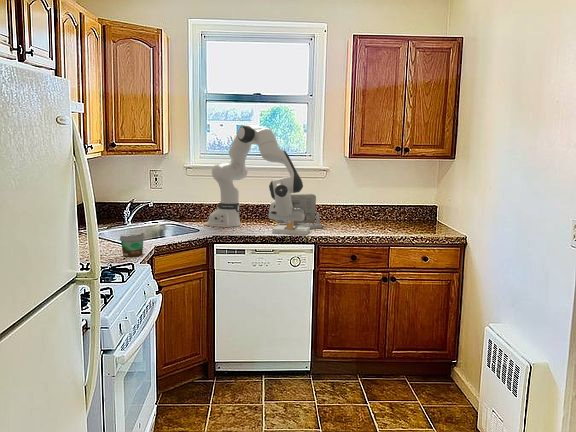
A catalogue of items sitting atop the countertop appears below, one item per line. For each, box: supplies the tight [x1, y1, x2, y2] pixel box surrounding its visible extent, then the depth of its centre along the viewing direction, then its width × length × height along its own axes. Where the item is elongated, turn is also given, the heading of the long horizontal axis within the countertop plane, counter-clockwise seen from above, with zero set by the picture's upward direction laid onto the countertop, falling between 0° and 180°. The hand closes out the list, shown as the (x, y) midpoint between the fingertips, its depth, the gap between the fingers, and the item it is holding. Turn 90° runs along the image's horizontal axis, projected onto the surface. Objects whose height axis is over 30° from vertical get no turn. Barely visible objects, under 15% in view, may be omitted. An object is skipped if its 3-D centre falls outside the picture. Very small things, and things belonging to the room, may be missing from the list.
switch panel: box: [271, 224, 311, 236], centre depth 327 cm, size 20×14×3 cm
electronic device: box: [299, 211, 323, 229], centre depth 343 cm, size 5×10×15 cm
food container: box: [119, 232, 146, 258], centre depth 256 cm, size 12×6×10 cm, turn 138°
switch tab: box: [286, 221, 294, 229], centre depth 323 cm, size 4×3×8 cm
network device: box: [274, 193, 317, 226], centre depth 350 cm, size 26×9×20 cm, turn 105°
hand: (288, 222), depth 316 cm, fingers closed
